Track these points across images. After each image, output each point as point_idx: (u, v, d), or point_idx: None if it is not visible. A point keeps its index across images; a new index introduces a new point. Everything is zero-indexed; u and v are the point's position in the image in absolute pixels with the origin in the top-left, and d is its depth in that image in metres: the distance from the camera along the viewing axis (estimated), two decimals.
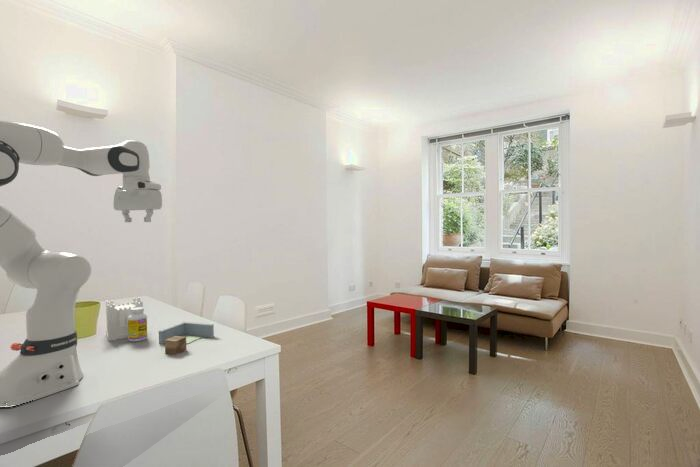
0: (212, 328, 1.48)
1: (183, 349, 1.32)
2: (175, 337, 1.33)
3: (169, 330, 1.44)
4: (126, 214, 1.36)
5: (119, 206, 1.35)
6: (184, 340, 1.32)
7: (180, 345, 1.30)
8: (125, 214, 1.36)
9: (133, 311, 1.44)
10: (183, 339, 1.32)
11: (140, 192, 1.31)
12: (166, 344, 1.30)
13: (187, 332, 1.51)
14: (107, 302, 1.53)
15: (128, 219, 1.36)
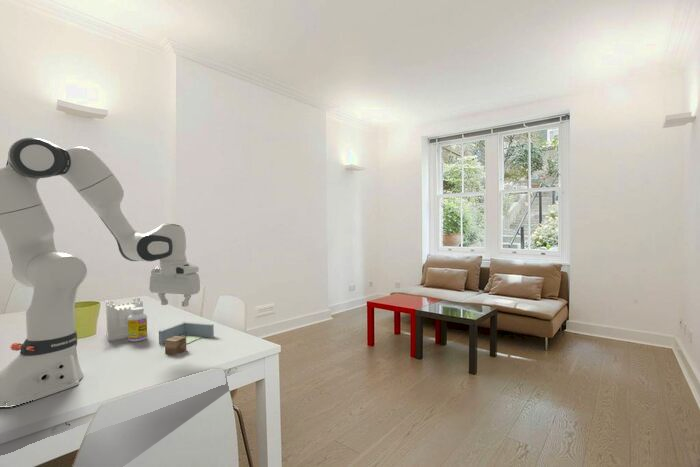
0: (212, 328, 1.48)
1: (183, 349, 1.32)
2: (175, 337, 1.33)
3: (169, 330, 1.44)
4: (162, 296, 1.33)
5: (156, 289, 1.31)
6: (184, 340, 1.32)
7: (180, 345, 1.30)
8: (161, 296, 1.32)
9: (133, 311, 1.44)
10: (183, 339, 1.32)
11: (178, 277, 1.27)
12: (166, 344, 1.30)
13: (187, 332, 1.51)
14: (107, 302, 1.53)
15: (165, 301, 1.32)
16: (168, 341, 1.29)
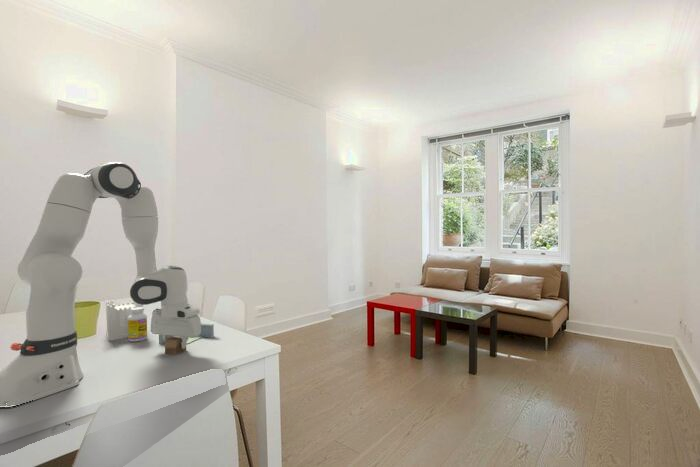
0: (212, 328, 1.48)
1: (183, 349, 1.32)
2: (175, 337, 1.33)
3: None
4: (166, 338, 1.33)
5: (157, 331, 1.32)
6: None
7: None
8: (166, 338, 1.32)
9: (133, 311, 1.44)
10: None
11: (179, 320, 1.28)
12: (166, 343, 1.30)
13: None
14: (107, 302, 1.53)
15: None
16: (168, 341, 1.29)
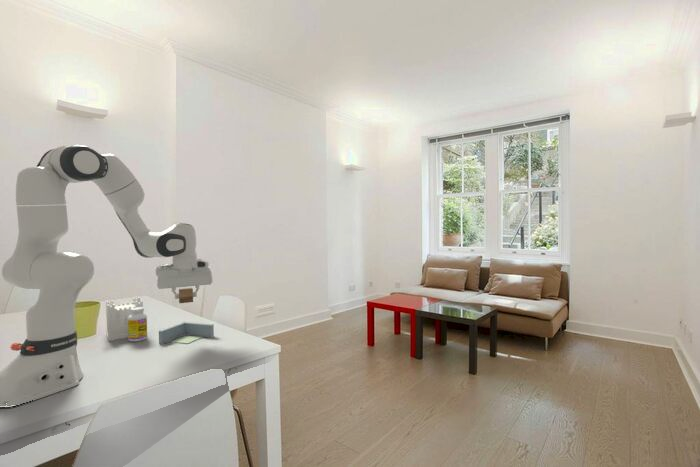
0: (212, 328, 1.48)
1: None
2: (183, 289, 1.45)
3: (169, 330, 1.44)
4: (174, 291, 1.42)
5: (167, 285, 1.40)
6: None
7: None
8: (174, 291, 1.42)
9: (133, 311, 1.44)
10: (192, 289, 1.46)
11: (197, 270, 1.44)
12: (180, 294, 1.41)
13: (187, 332, 1.51)
14: (107, 302, 1.53)
15: None
16: (183, 291, 1.42)
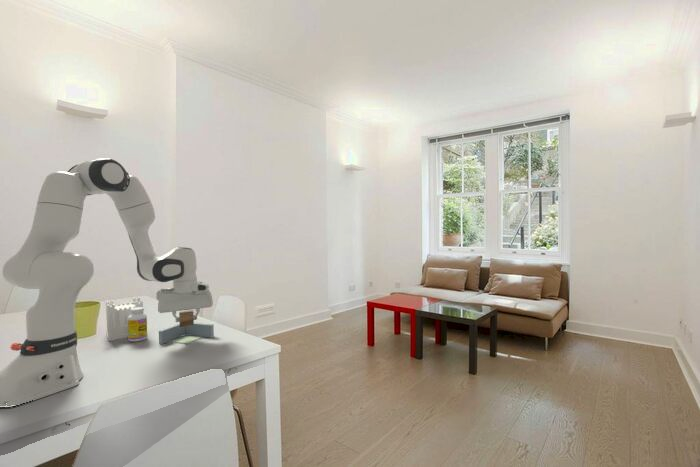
0: (212, 328, 1.48)
1: None
2: (183, 312, 1.45)
3: (169, 330, 1.44)
4: (175, 314, 1.43)
5: (168, 309, 1.40)
6: None
7: None
8: (175, 314, 1.43)
9: (133, 311, 1.44)
10: (192, 312, 1.47)
11: (197, 293, 1.44)
12: (181, 318, 1.42)
13: (187, 332, 1.51)
14: (107, 302, 1.53)
15: (179, 318, 1.43)
16: (184, 314, 1.42)
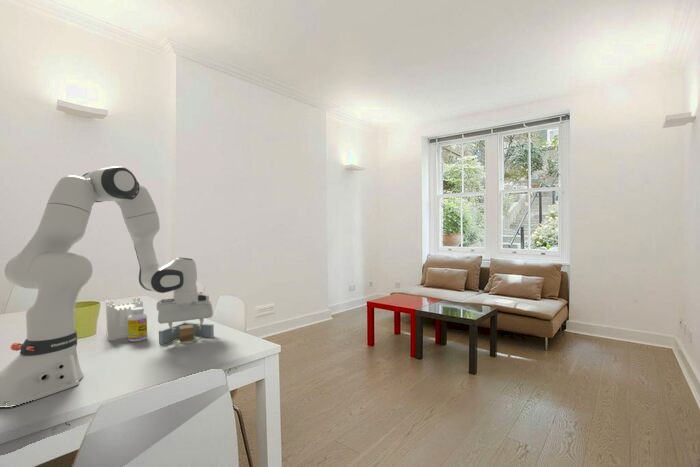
0: (212, 328, 1.48)
1: None
2: (183, 326, 1.45)
3: (169, 330, 1.44)
4: (171, 325, 1.42)
5: (168, 319, 1.40)
6: None
7: None
8: (171, 325, 1.42)
9: (133, 311, 1.44)
10: (192, 326, 1.47)
11: (198, 304, 1.44)
12: (181, 333, 1.42)
13: None
14: (107, 302, 1.53)
15: (175, 329, 1.43)
16: (184, 329, 1.42)
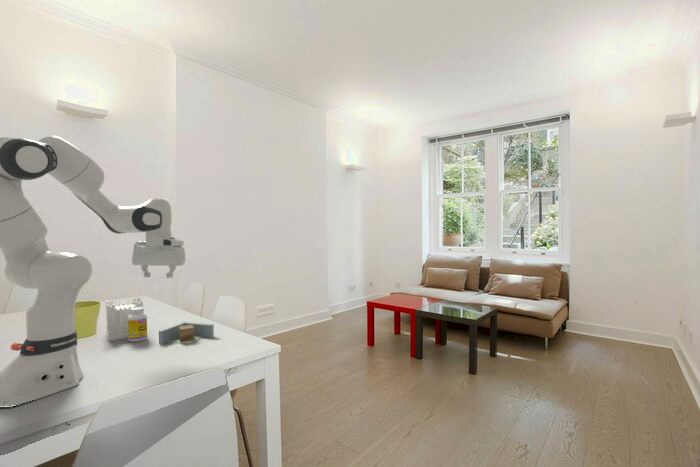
0: (212, 328, 1.48)
1: None
2: (183, 326, 1.45)
3: (169, 330, 1.44)
4: (145, 269, 1.38)
5: (139, 262, 1.37)
6: None
7: None
8: (144, 269, 1.38)
9: (133, 311, 1.44)
10: (192, 326, 1.47)
11: (164, 249, 1.35)
12: (181, 333, 1.42)
13: None
14: (107, 302, 1.53)
15: (148, 273, 1.38)
16: (184, 329, 1.42)
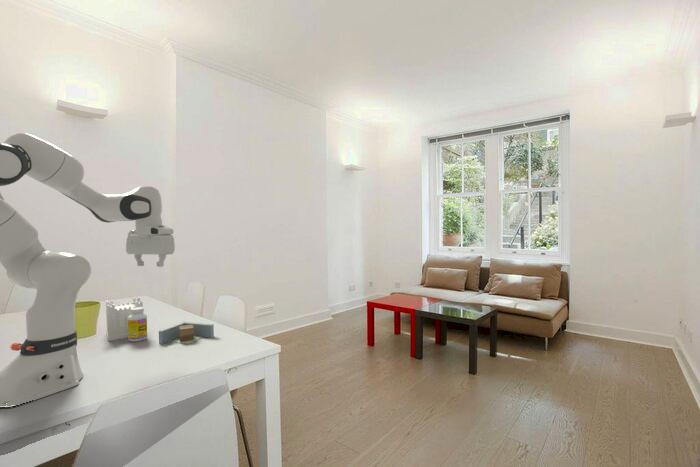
0: (212, 328, 1.48)
1: None
2: (183, 326, 1.45)
3: (169, 330, 1.44)
4: (138, 258, 1.37)
5: (132, 250, 1.35)
6: None
7: None
8: (137, 258, 1.37)
9: (133, 311, 1.44)
10: (192, 326, 1.47)
11: (153, 237, 1.31)
12: (181, 333, 1.42)
13: None
14: (107, 302, 1.53)
15: (141, 262, 1.36)
16: (184, 329, 1.42)
